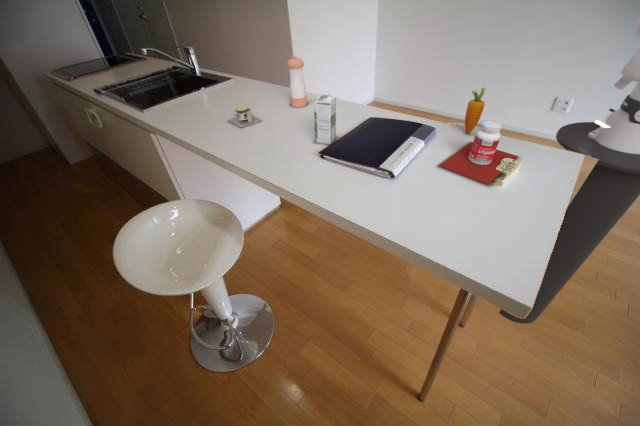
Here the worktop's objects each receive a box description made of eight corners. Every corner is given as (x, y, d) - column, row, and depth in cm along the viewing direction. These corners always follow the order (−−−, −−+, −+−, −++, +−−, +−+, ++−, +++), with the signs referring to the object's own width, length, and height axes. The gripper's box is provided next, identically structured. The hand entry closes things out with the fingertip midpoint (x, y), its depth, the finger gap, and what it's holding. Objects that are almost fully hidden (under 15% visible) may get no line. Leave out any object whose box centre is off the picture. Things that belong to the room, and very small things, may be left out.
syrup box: (320, 135, 103) (318, 93, 93) (336, 137, 101) (336, 95, 92) (315, 142, 99) (312, 99, 89) (331, 144, 97) (330, 101, 88)
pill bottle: (472, 166, 82) (485, 129, 75) (464, 155, 86) (475, 120, 79) (494, 165, 82) (509, 128, 74) (485, 154, 86) (498, 119, 79)
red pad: (470, 143, 94) (471, 141, 93) (517, 157, 85) (517, 155, 85) (438, 166, 83) (439, 164, 83) (487, 185, 75) (488, 183, 75)
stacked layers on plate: (228, 121, 117) (225, 107, 113) (247, 114, 121) (245, 101, 118) (241, 127, 111) (238, 113, 108) (260, 121, 116) (258, 107, 112)
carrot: (463, 137, 97) (476, 91, 87) (457, 131, 101) (469, 86, 91) (477, 136, 97) (493, 90, 87) (471, 130, 101) (485, 85, 91)
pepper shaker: (298, 108, 125) (294, 59, 113) (287, 104, 129) (282, 57, 116) (310, 103, 129) (307, 55, 116) (299, 100, 133) (295, 53, 120)
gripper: (717, -30, 50) (641, 45, 63) (659, 21, 46) (589, 91, 58) (759, -15, 48) (671, 59, 61) (703, 40, 43) (620, 108, 56)
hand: (630, 75), depth 59 cm, fingers open, 8 cm apart
